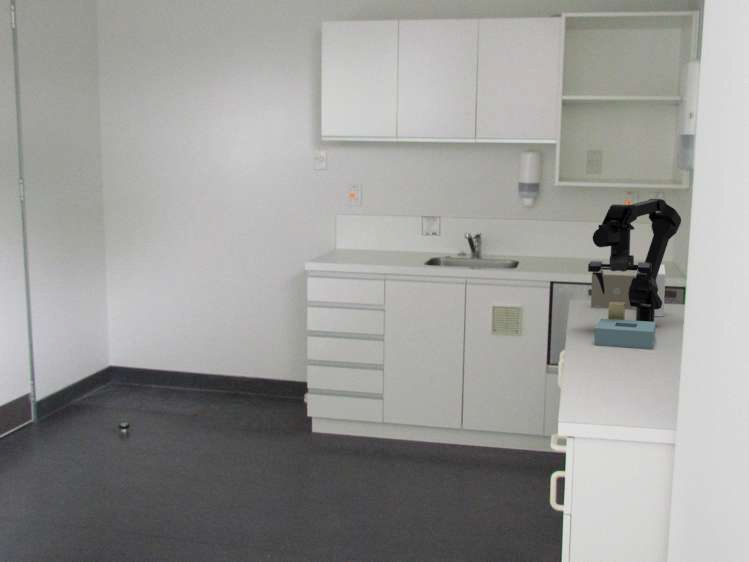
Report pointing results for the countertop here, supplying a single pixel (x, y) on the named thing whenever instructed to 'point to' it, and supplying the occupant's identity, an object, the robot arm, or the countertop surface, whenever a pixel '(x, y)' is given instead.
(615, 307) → the brass pin
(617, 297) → the laptop
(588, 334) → the countertop surface
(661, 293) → the milk carton
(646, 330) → the hole block
